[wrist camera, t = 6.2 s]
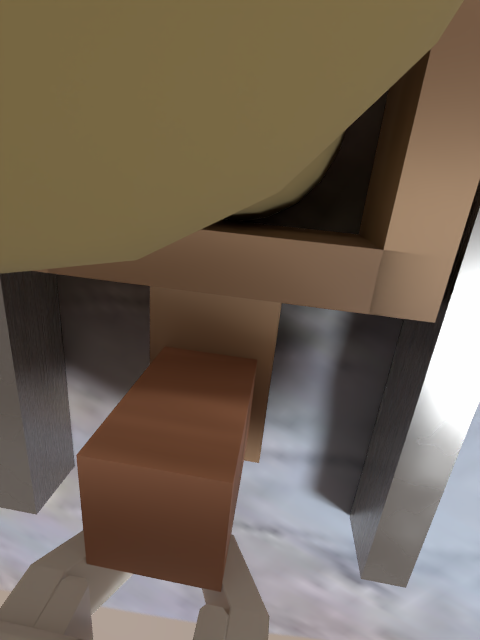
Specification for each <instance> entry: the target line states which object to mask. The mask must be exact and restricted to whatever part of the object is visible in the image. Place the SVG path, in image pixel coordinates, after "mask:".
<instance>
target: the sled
mask: <svg viewBox="0 0 480 640" xmlns="http://www.w3.org/2000/svg"><path fill="white" fill-rule="evenodd" d="M479 180H480V0H464V1H463V3H462V4H461V6H460V8H459V9H458V11H457V12H456V14H455V15H454V17H453V19H452V20H451V22H450V23H449V25H448V26H447V28H446V30H445V31H444V33H443V34H442V36H441V37H440V39H439V41H438V42H437V43H436V44H435V45H434V46H433V47H432V48H431V49H430V50H429V51H428V52H427V53H426V54H425V55H424V56H423V57H422V58H421V59H420V60H419V61H418V62H417V63H416V64H414V65H413V66H412V67H411V68H410V69H409V70H408V71H407V72H406V73H405V74H404V75H403V76H402V77H401V78H400V79H399V80H398V81H397V82H396V83H395V84H394V85H393V86H391V87H390V88H389V91H388V96H387V101H386V106H385V110H384V115H383V120H382V125H381V130H380V135H379V139H378V144H377V149H376V154H375V159H374V163H373V168H372V173H371V178H370V183H369V187H368V192H367V197H366V202H365V207H364V211H363V216H362V221H361V226H360V231H359V234H351V233H342V232H333V231H323V230H314V229H305V228H296V227H286V226H277V225H268V224H259V223H250V222H240V221H231V220H220V221H218V222H215V223H213V224H211V225H209V226H207V227H205V228H203V229H201V230H199V231H197V232H195V233H192V234H190V235H188V236H186V237H184V238H182V239H180V240H178V241H176V242H174V243H172V244H170V245H167V246H165V247H163V248H161V249H159V250H157V251H155V252H153V253H151V254H149V255H147V256H144V257H142V258H140V259H138V260H133V261H123V262H113V263H103V264H93V265H83V266H73V267H63V268H53V269H42V270H32V271H37V272H44V273H52V274H60V275H68V276H76V277H83V278H91V279H99V280H107V281H114V282H122V283H130V284H138V285H145V286H150V365H149V366H148V368H147V369H146V370H145V371H144V373H143V374H142V375H141V376H140V377H139V379H138V380H137V381H136V382H135V384H134V385H133V386H132V387H131V389H130V390H129V391H128V392H127V394H126V395H125V396H124V397H123V398H122V400H121V401H120V402H119V403H118V405H117V406H116V407H115V408H114V410H113V411H112V412H111V413H110V414H109V416H108V417H107V418H106V419H105V421H104V422H103V423H102V424H101V426H100V427H99V428H98V429H97V430H96V432H95V433H94V434H93V435H92V437H91V438H90V439H89V440H88V442H87V443H86V444H85V445H84V446H83V448H82V449H81V450H80V451H79V453H78V454H77V466H78V477H79V488H80V499H81V510H82V521H83V531H84V542H85V553H86V564H89V565H94V566H99V567H104V568H108V569H113V570H118V571H123V572H127V573H132V574H137V575H142V576H147V577H151V578H156V579H161V580H166V581H170V582H175V583H180V584H185V585H190V586H194V587H199V588H204V589H209V590H213V591H218V592H221V589H222V581H223V576H224V570H225V565H226V559H227V553H228V548H229V542H230V537H231V531H232V526H233V520H234V514H235V508H236V503H237V497H238V491H239V485H240V480H241V474H242V468H243V462H244V460H245V461H251V462H257V463H259V459H260V452H261V445H262V438H263V431H264V424H265V417H266V410H267V403H268V396H269V389H270V381H271V374H272V367H273V360H274V353H275V346H276V339H277V332H278V325H279V318H280V311H281V304H282V303H285V304H293V305H301V306H308V307H316V308H324V309H332V310H340V311H347V312H355V313H363V314H371V315H378V316H386V317H394V318H402V319H409V320H417V321H425V322H433V323H435V321H436V318H437V315H438V312H439V308H440V305H441V302H442V299H443V295H444V292H445V289H446V286H447V283H448V279H449V276H450V273H451V270H452V267H453V263H454V260H455V257H456V254H457V250H458V247H459V244H460V241H461V238H462V234H463V231H464V228H465V225H466V222H467V218H468V215H469V212H470V209H471V205H472V202H473V199H474V196H475V193H476V189H477V186H478V183H479Z"/></svg>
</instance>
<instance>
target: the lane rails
mask: <svg viewBox="0 0 480 640" xmlns="http://www.w3.org/2000/svg"><path fill="white" fill-rule="evenodd" d="M479 400H480V180H479V183H478V186H477V189H476V193H475V196H474V199H473V202H472V205H471V209H470V212H469V215H468V218H467V222H466V225H465V228H464V231H463V234H462V238H461V241H460V244H459V247H458V250H457V254H456V257H455V260H454V263H453V267H452V270H451V273H450V276H449V279H448V283H447V286H446V289H445V292H444V295H443V299H442V302H441V305H440V308H439V312H438V315H437V318H436V321H435V323H433V322H425V321H417V320H409V319H404V322H403V325H402V329H401V333H400V336H399V340H398V343H397V347H396V351H395V354H394V358H393V361H392V365H391V369H390V372H389V376H388V379H387V383H386V387H385V390H384V394H383V398H382V401H381V405H380V408H379V412H378V416H377V419H376V423H375V426H374V430H373V434H372V437H371V441H370V445H369V448H368V452H367V455H366V459H365V463H364V466H363V470H362V473H361V477H360V481H359V484H358V488H357V492H356V495H355V499H354V502H353V506H352V510H351V513H350V521H351V526H352V532H353V537H354V543H355V548H356V554H357V559H358V565H359V570H360V576H361V579H365V580H370V581H375V582H380V583H385V584H390V585H395V586H400V587H405V588H406V586H407V583H408V581H409V578H410V576H411V573H412V571H413V568H414V566H415V563H416V560H417V558H418V555H419V553H420V550H421V548H422V545H423V543H424V540H425V538H426V535H427V532H428V530H429V527H430V525H431V522H432V520H433V517H434V515H435V512H436V510H437V507H438V504H439V502H440V499H441V497H442V494H443V492H444V489H445V487H446V484H447V482H448V479H449V476H450V474H451V471H452V469H453V466H454V464H455V461H456V459H457V456H458V454H459V451H460V448H461V446H462V443H463V441H464V438H465V436H466V433H467V431H468V428H469V426H470V423H471V420H472V418H473V415H474V413H475V410H476V408H477V405H478V403H479ZM74 466H75V465H74V455H73V444H72V434H71V424H70V413H69V403H68V392H67V382H66V371H65V361H64V351H63V340H62V330H61V319H60V309H59V298H58V288H57V278H56V274H52V273H44V272H37V271H22V272H12V273H0V507H1V508H6V509H12V510H17V511H22V512H27V513H32V514H37V513H38V512H39V511H40V510H41V508H42V507H43V506H44V504H45V503H46V502H47V501H48V499H49V498H50V497H51V496H52V494H53V493H54V492H55V490H56V489H57V488H58V487H59V485H60V484H61V483H62V482H63V480H64V479H65V478H66V476H67V475H68V474H69V473H70V471H71V470H72V469H73V468H74Z"/></svg>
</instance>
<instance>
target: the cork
mask: <svg viewBox="0 0 480 640" xmlns="http://www.w3.org/2000/svg"><path fill="white" fill-rule="evenodd" d="M463 1H464V0H0V273H12V272H22V271H32V270H42V269H53V268H63V267H73V266H83V265H93V264H103V263H113V262H123V261H133V260H138V259H140V258H142V257H144V256H147V255H149V254H151V253H153V252H155V251H157V250H159V249H161V248H163V247H165V246H167V245H170V244H172V243H174V242H176V241H178V240H180V239H182V238H184V237H186V236H188V235H190V234H192V233H195V232H197V231H199V230H201V229H203V228H205V227H207V226H209V225H211V224H213V223H215V222H218V221H220V220H222V219H224V218H227V219H231V220H236V221H240V220H249V219H257V218H266V217H269V216H271V215H273V214H276V213H278V212H280V211H282V210H284V209H286V208H289V207H291V206H293V205H295V204H297V203H298V202H299V201H300V200H301V199H302V198H303V197H304V196H305V195H306V194H308V193H309V192H310V191H311V190H312V189H313V188H314V187H315V186H316V185H317V184H319V183H320V182H321V181H322V179H323V177H324V176H325V174H326V172H327V171H328V169H329V167H330V166H331V164H332V162H333V161H334V159H335V157H336V156H337V154H338V152H339V151H340V148H341V145H342V141H343V137H344V134H345V130H346V129H347V128H348V127H349V126H350V125H351V124H352V123H353V122H354V121H355V120H357V119H358V118H359V117H360V116H361V115H362V114H363V113H364V112H365V111H366V110H367V109H368V108H369V107H370V106H371V105H372V104H373V103H375V102H376V101H377V100H378V99H379V98H380V97H381V96H382V95H383V94H384V93H385V92H386V91H387V90H388V89H389V88H390V87H391V86H393V85H394V84H395V83H396V82H397V81H398V80H399V79H400V78H401V77H402V76H403V75H404V74H405V73H406V72H407V71H408V70H409V69H410V68H411V67H412V66H413V65H414V64H416V63H417V62H418V61H419V60H420V59H421V58H422V57H423V56H424V55H425V54H426V53H427V52H428V51H429V50H430V49H431V48H432V47H433V46H434V45H435V44H436V43H437V42H438V41H439V39H440V37H441V36H442V34H443V33H444V31H445V30H446V28H447V26H448V25H449V23H450V22H451V20H452V19H453V17H454V15H455V14H456V12H457V11H458V9H459V8H460V6H461V4H462V3H463Z"/></svg>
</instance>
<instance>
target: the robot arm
mask: <svg viewBox="0 0 480 640" xmlns="http://www.w3.org/2000/svg"><path fill="white" fill-rule="evenodd" d="M231 533H232V531H231ZM132 575H133V574H132V573H127V572H123V571H118V570H113V569H108V568H104V567H99V566H94V565H89V564H86V553H85V542H84V531H81V532H80V533H78V534H77V535H75V536H74V537H72V538H71V539H69V540H68V541H66V542H65V543H63V544H62V545H60V546H59V547H57V548H56V549H54V550H52V551H51V552H49V553H48V554H46V555H45V556H43V557H42V558H40V559H39V560H37V561H36V562H34V563H33V564H31V565H30V567H29V568H28V569H27V571H26V572H25V574H24V575H23V577H22V578H21V579H20V581H19V582H18V584H17V585H16V587H15V588H14V589H13V591H12V592H11V594H10V595H9V596H8V598H7V599H6V601H5V602H4V604H3V605H2V606H1V608H0V640H93V633H92V620H91V615H92V614H93V613H94V612H95V611H96V610H97V609H98V608H99V607H100V606H101V605H102V604H103V603H104V602H105V601H106V600H107V599H108V598H109V597H110V596H111V595H112V594H113V593H114V592H115V591H117V590H118V589H119V588H120V587H121V586H122V585H123V584H124V583H125V582H126V581H127V580H128V579H129V578H130V577H131V576H132ZM202 591H203V594H204V598H205V602H206V605H204V606H203V607H202V608H201V609H200V611H199V615H198V620H197V624H196V628H195V633H194V637H193V640H268V631H269V615H268V612H267V610H266V608H265V606H264V603H263V601H262V599H261V596H260V594H259V592H258V590H257V587H256V585H255V583H254V580H253V578H252V576H251V574H250V571H249V569H248V567H247V565H246V562H245V560H244V558H243V555H242V553H241V551H240V549H239V546H238V544H237V542H236V540H235V537H234V535H232V534H231V537H230V542H229V548H228V553H227V559H226V565H225V570H224V576H223V581H222V589H221V592H218V591H213V590H209V589H204V588H202Z"/></svg>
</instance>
